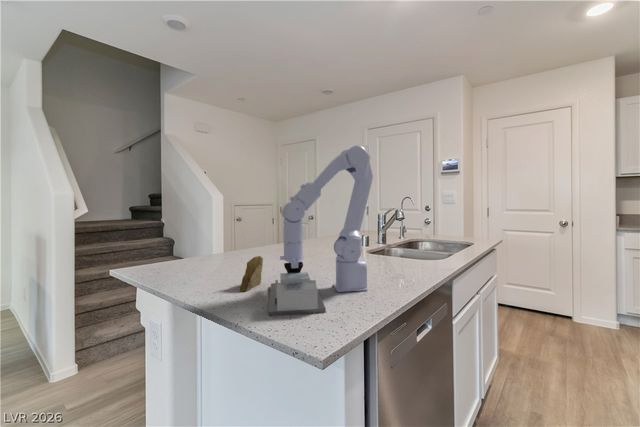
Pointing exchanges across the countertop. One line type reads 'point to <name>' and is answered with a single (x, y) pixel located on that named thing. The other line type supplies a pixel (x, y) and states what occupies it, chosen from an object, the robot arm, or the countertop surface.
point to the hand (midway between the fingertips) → (293, 286)
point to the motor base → (295, 299)
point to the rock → (252, 274)
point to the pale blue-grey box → (295, 278)
